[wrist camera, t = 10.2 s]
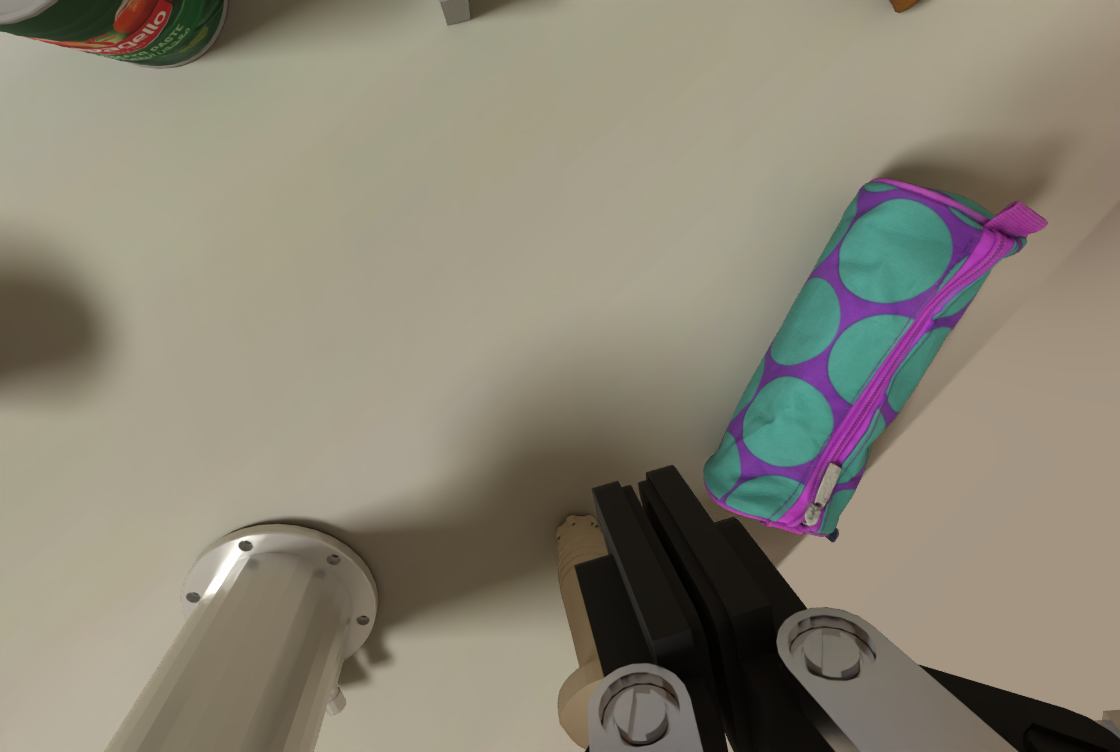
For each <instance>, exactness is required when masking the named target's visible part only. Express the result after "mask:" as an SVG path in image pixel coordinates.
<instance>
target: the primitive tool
mask: <svg viewBox="0 0 1120 752" xmlns="http://www.w3.org/2000/svg"><path fill="white" fill-rule="evenodd" d="M889 1H890V2H891V4H892V6H893V8H894V10H895V12H897V13H900V12H903V11H905V10H907V9H909V8H910V7H912V6H913V5H914V4H915V3H917V2H918V1H919V0H889Z"/></svg>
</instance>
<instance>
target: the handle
mask: <svg viewBox="0 0 1120 752" xmlns="http://www.w3.org/2000/svg"><path fill="white" fill-rule="evenodd" d="M599 527H600V526H599V524H598V522H597V520H596V519H595V518H594V517H593V516H591V515H586V516H575V515H570V516H568V517H567V518H566V521H565V523H564V524H563V525H561V526H559V527H558V529H557V534H556V541H557V542H558V550H557V565H558V577H559V583H560V590H561V595H562V599H563V603H564V607H565V610H566V614H567V618H568V622H569V626H570V630H571V634H572V638H573V642H574V646H575V650H576V655H577V659H578V663H579V667H580V668H578V669H577V670H576V671H575V672H573V673H572V674H571V675H570V676H569V677H568V679H567V680H566V681H565V682H564V684H563V686H562V687H561V689H560V692H559V696H558V714H559V722H560V725H561V726H562V727H563V729H564V730H565V731H566V733H567V734H568V735H569V736H570V738H571V739H572V740H573V741H574V742H575V743H576V744H577V745H578V746H580V747H582V748H584V749H587V747H588V746H589V731H588V709H589V701H590V699H591V697H592V695H593V692H594V690H595V688H596V687H597V686H598V685H599V683H600V682H601V681H602V680H603V679H604V675H603V671H602V667H601V664H600V660H599V656H598V653H597V649H596V645H595V641H594V638H593V634H592V630H591V627H590V623H589V619H588V615H587V612H586V608H585V604H584V601H583V597H582V593H581V589H580V586H579V582H578V578H577V575H576V571H575V567H574V565H576V564H579V563H582V562H586V561H589V560H592V559H596V558H599V557H602V556H606V555H608V552H607V548H606V544H605V540H604V536H603V533H602V532H601V531H600V530H599Z"/></svg>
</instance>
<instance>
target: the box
mask: <svg viewBox="0 0 1120 752" xmlns="http://www.w3.org/2000/svg"><path fill="white" fill-rule="evenodd" d="M440 3H441V6H442V9H443V13H444V16H445V19H446V22H447V25H451V24H455V23H459V22H463V21H467V20H471V19H470V11H469V2H468V0H440Z"/></svg>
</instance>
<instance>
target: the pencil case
mask: <svg viewBox="0 0 1120 752" xmlns="http://www.w3.org/2000/svg"><path fill="white" fill-rule="evenodd" d="M1047 224H1048V222H1047V221H1046V220H1045V219H1044V218H1043V217H1041V216H1040V215H1039V214H1037V213H1036V212H1034V211H1033V210H1031V209H1030V208H1028V207H1027V206H1025V205H1024V204H1023V203H1021V202H1020V201H1015V202H1013V203H1011V204H1010V205H1008V206H1007V207H1006V208H1005V209H1004V210H1002V211H1001V212H1000V213H999V214H997V215H996V216H994V215H993V214H992V213H990V212H989V211H987V210H986V209H984V208H983V207H981V206H980V205H978V204H977V203H975V202H973V201H971V200H969V199H967V198H965V197H962V196H959V195H957V194H953V193H949V192H945V191H941V190H936V189H931V188H925V187H919V186H916V185H912V184H909V183H905V182H901V181H897V180H892V179H884V178H878V179H874V180H871V181H870V182H869V183H866V184H865V185H864V186H862V188H861V189H860V190H859V192H858V193H857V195H856V197H855V198H854V199H853V201H852V202H851V203H850V205H849V206H848V207H847V209H846V211H845V213H844V215H843V217H842V220H841V221H840V223H839V225H838V227H837V228H836V230H835V232H834V233H833V235H832V237H831V239H830V240H829V242H828V244H827V246H826V247H825V249H824V251H823V253H822V255H821V257H820V258H819V260H818V262H817V264H816V265H815V267H814V269H813V271H812V272H811V274H810V276H809V278H808V280H807V281H806V283H805V285H804V287H803V288H802V290H801V292H800V293H799V295H798V297H797V298H796V300H795V302H794V304H793V306H792V307H791V309H790V311H789V313H788V315H787V317H786V319H785V320H784V323H783V325H782V326H781V328H780V330H779V331H778V333H777V335H776V336H775V338H774V340H773V342H772V343H771V345H770V347H769V349H768V351H767V352H766V354H765V356H764V358H763V359H762V361H761V363H760V365H759V366H758V368H757V370H756V372H755V373H754V375H753V377H752V379H751V380H750V382H749V384H748V386H747V388H746V390H745V392H744V394H743V396H742V398H741V400H740V402H739V404H738V406H737V408H736V410H735V412H734V415H733V417H732V419H731V421H730V423H729V426H728V428H727V430H726V432H725V435H724V437H723V439H722V442H721V444H720V447H719V449H718V450H717V452H716V453H715V454H714V455H712V456H711V457H710V458H709V459H708V461H707V462H706V464H705V466H704V471H703V473H704V484H705V487H706V489H707V492H708V493H709V495H710V497H711V498H712V499H713V500H714V501H715V502H716V503H717V504H718V505H720V506H721V507H723V508H725V509H727V510H729V511H731V512H734V513H736V514H739V515H742V516H746V517H749V518H753V519H757V520H761V521H760V523H761V524H763V525H765V526H767V527H775V528H779V529H783V530H786V531H789V532H792V533H795V534H798V535H802V534H804V532H805V533H808V534H811V535H815V536H820V537H824V536H825V537H826V538H828V539H829V540H830V541H831V542H835V540H836V539H837V537H838V535H839V532H838V529H837V528H836V526H837V523H838V520H839V516H840V514H841V513H842V511H843V510H844V508H845V507H846V505H847V504H848V502H849V501H850V499H851V498H852V496H853V494H854V492H855V490H856V488H857V486H858V484H859V482H860V480H861V477H862V475H863V473H864V470H865V466H866V463H867V460H868V457H869V454H870V451H871V446H872V442H873V441H874V440H875V439H876V438H877V437H878V436H879V435H880V434H881V433H882V432H883V431H884V430H885V429H886V428H887V427H888V426H889V424H890V423H891V422H892V421H893V420H894V419H895V417H896V416H897V415H898V414H899V412H900V410H901V409H902V407H903V405H904V404H905V402H906V401H907V399H908V398H909V397H910V395H911V394H912V392H913V391H914V389H915V388H916V386H917V385H918V383H919V381H920V380H921V378H922V376H923V375H924V373H925V371H926V370H927V368H928V367H929V365H930V364H931V362H932V360H933V359H934V357H935V355H936V354H937V352H938V350H939V349H940V347H941V345H942V343H943V341H944V340H945V338H946V337H947V335H948V334H949V332H950V331H951V330H952V329H953V328H954V327H955V325H956V324H957V322H958V321H959V320H960V318H961V317H962V315H963V314H964V312H965V311H966V309H967V308H968V306H969V305H970V303H971V302H972V300H973V299H974V297H975V296H976V294H977V292H978V291H979V289H980V287H981V286H982V284H983V282H984V281H985V279H986V278H987V276H988V275H989V273H990V271H991V269H992V268H993V267H994V266H995V265H996V264H997V263H998V262H999V261H1000V260H1001V259H1003V258H1006V257H1009V256H1011V255H1014V254H1016V253H1017V252H1019V251H1020V250H1021V249H1022V248H1023V247H1024V246H1025V245H1026V243H1027V240H1026V237H1027V236H1028V234H1030V233H1034V232H1037V231H1039V230H1041V229H1043V228H1045V227H1046V226H1047Z"/></svg>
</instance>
